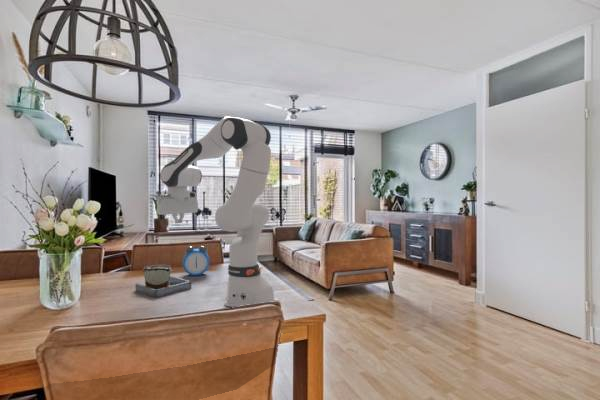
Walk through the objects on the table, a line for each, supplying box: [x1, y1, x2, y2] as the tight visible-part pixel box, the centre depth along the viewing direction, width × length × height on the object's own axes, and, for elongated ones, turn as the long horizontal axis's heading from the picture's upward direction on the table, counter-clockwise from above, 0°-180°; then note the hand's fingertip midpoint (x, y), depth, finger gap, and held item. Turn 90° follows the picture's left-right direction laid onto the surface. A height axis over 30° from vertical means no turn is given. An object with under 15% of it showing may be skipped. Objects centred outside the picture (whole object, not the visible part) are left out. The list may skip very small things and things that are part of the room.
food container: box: [142, 264, 172, 289], centre depth 143 cm, size 12×6×10 cm, turn 92°
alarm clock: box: [182, 245, 210, 277], centre depth 166 cm, size 13×6×15 cm, turn 108°
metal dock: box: [135, 275, 192, 299], centre depth 141 cm, size 16×17×3 cm
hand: (178, 223), depth 151 cm, fingers closed
